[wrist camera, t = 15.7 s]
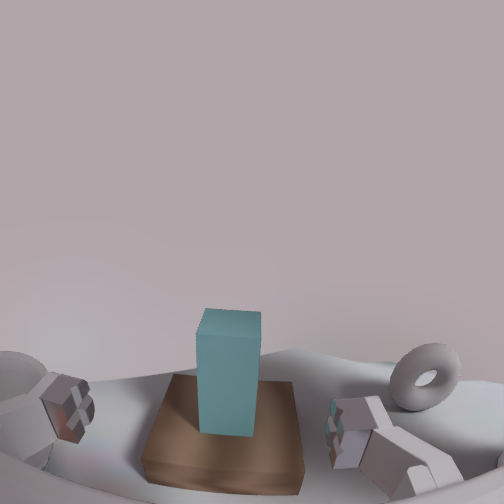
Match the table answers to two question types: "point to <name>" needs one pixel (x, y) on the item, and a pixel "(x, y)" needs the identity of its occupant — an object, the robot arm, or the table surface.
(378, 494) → the table surface
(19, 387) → the teacup
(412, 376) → the donut
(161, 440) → the oak base
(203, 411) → the teal block
